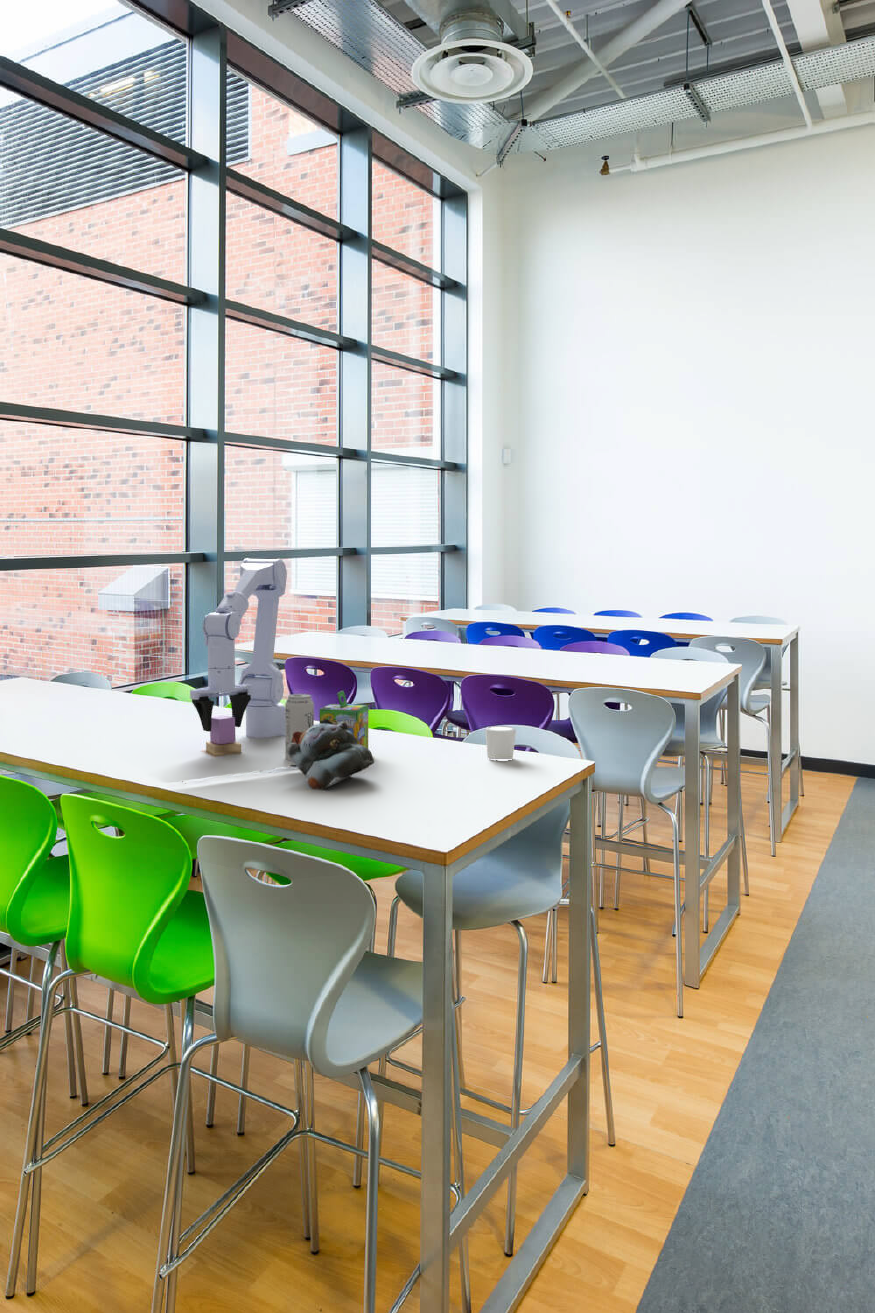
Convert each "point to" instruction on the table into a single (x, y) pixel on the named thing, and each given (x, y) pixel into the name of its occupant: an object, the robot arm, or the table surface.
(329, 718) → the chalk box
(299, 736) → the grey stuffed animal
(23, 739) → the table surface
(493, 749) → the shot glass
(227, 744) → the oak tile
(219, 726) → the purple block
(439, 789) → the table surface
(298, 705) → the energy drink can
